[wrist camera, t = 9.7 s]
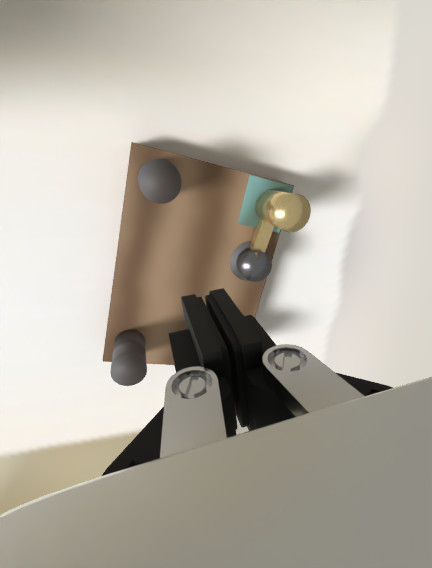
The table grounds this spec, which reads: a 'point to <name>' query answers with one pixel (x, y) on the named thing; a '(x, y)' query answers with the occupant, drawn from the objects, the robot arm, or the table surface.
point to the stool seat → (177, 252)
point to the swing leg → (271, 229)
